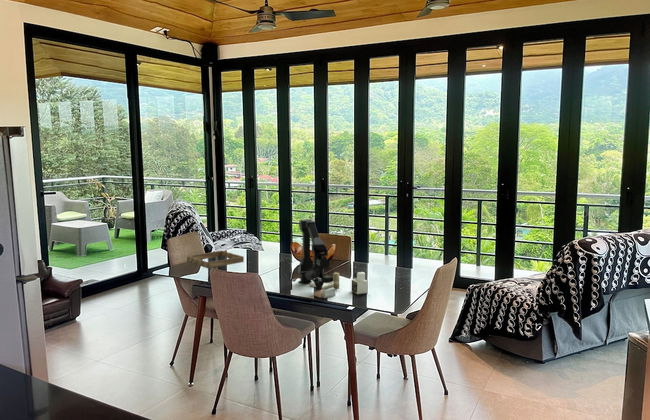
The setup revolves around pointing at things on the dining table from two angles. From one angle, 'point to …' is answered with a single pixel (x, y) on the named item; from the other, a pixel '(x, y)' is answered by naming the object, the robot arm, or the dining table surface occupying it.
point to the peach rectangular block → (319, 293)
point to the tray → (324, 285)
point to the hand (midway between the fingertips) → (318, 291)
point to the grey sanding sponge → (328, 292)
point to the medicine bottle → (359, 283)
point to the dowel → (336, 280)
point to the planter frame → (198, 261)
